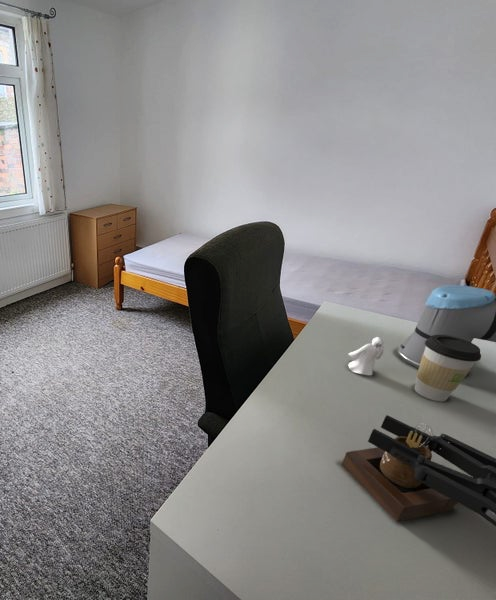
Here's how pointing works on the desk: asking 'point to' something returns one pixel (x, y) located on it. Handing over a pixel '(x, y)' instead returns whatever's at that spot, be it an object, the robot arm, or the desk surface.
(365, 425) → the desk surface
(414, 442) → the utensil holder
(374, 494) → the wooden frame
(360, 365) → the figurine
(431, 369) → the coffee cup
